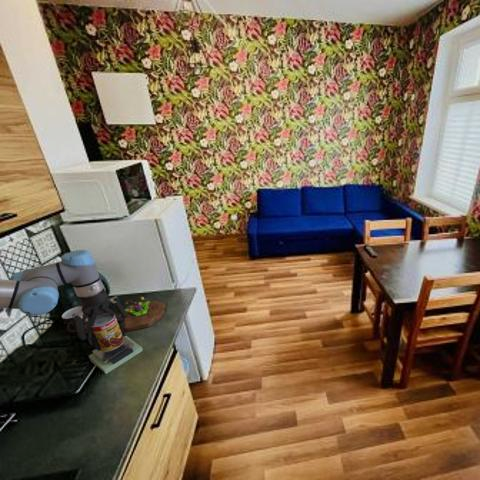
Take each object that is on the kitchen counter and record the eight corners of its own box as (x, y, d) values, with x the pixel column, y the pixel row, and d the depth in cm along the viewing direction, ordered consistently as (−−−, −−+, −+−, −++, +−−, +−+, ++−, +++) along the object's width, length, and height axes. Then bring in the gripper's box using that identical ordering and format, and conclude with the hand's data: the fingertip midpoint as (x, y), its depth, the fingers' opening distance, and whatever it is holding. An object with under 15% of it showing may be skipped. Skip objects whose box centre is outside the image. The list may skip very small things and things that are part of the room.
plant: (155, 329, 120) (149, 308, 116) (108, 334, 117) (99, 313, 113) (171, 302, 138) (166, 284, 134) (130, 306, 135) (124, 287, 131)
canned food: (117, 350, 100) (107, 325, 96) (94, 353, 99) (83, 327, 95) (128, 335, 107) (119, 311, 103) (106, 338, 106) (96, 313, 102)
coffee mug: (83, 322, 124) (75, 305, 120) (99, 324, 123) (92, 306, 119) (57, 341, 113) (48, 322, 110) (75, 343, 112) (66, 324, 108)
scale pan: (92, 352, 103) (91, 351, 102) (122, 336, 111) (121, 334, 111) (104, 363, 98) (104, 362, 98) (134, 345, 106) (134, 344, 106)
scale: (91, 361, 103) (86, 352, 102) (127, 340, 114) (124, 332, 112) (106, 376, 97) (102, 367, 95) (143, 352, 107) (140, 343, 106)
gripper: (57, 311, 84) (82, 364, 93) (128, 281, 100) (143, 329, 109) (48, 304, 88) (73, 355, 97) (118, 276, 104) (134, 322, 113)
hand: (111, 341), depth 103 cm, fingers closed on canned food, 8 cm apart
